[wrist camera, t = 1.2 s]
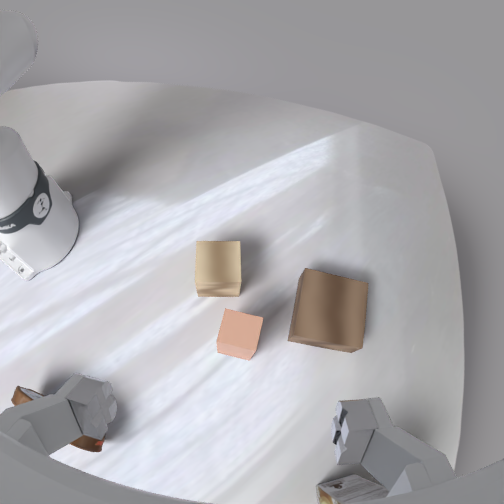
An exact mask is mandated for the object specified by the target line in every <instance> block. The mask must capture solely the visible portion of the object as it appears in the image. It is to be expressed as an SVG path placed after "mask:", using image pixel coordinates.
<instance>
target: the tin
mask: <svg viewBox="0 0 504 504" xmlns="http://www.w3.org/2000/svg"><path fill="white" fill-rule="evenodd" d="M41 397H44V396H43V395H41V394H39V393H38V392H35V391H33V390H31V389H26V388H23V387H20V386H17V387H16V390H15V392H14V395H13V398H12V399H11V401H12V403H13V404H14V405H15V406H17V405H20V404H23V403H26V402H29V401H32V400H35V399H38V398H41ZM82 435H83V434H82ZM104 438H105V435H104V436H103V438H102V440H100V439H96V438H93V437H89V436H86V435H83V436H81V437H79V438H78V439H76V440H74V441H73V442H71V443H69V444H71V445H73V446H75V447H78V448H80V449H83V450H87V451H91V452H100V451H101V450H102V445H103V442H104Z"/></svg>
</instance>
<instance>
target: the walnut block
mask: <svg viewBox="0 0 504 504" xmlns="http://www.w3.org/2000/svg"><path fill="white" fill-rule="evenodd" d="M367 294H368V283H366V282H362V281H357V280H353V279H349V278H345V277H341V276H337V275H332V274H328V273H324V272H320V271H316V270H312V269H308V268H305V270H304V271H303V273H302V275H301V276H300V278H299V282H298V288H297V293H296V299H295V305H294V310H293V316H292V321H291V326H290V331H289V337H288V341H291V342H296V343H301V344H306V345H311V346H316V347H321V348H327V349H332V350H338V351H343V352H349V353H352V352H354V351H357V350H359V349H362V347H363V338H364V329H365V319H366V307H367Z"/></svg>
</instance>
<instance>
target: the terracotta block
mask: <svg viewBox="0 0 504 504" xmlns="http://www.w3.org/2000/svg"><path fill="white" fill-rule="evenodd" d="M262 322H263V317H258V316H254V315H250V314H246V313H242V312H238V311H234V310H230V309H226V308H225V311H224V315H223V319H222V323H221V326H220V330H219V334H218V338H217V351H218V353H221V354H225V355H229V356H233V357H237V358H241V359H246V360H250V359H251V357H252V356H253V354H254V353H255V352H256V349H257V345H258V340H259V336H260V331H261V327H262Z"/></svg>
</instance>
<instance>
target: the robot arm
mask: <svg viewBox="0 0 504 504" xmlns="http://www.w3.org/2000/svg"><path fill="white" fill-rule="evenodd" d="M37 49H38V35H37V31H36V28H35V26H34V24H33V22H32V21H31V20H30V19H29V18H28V17H27V16H26V15H24V14H22V13H20V12H17V11H9V10H0V96H1V95H2V94H4V93H5V92H6V91H7V90H9V89H10V87H11V86H12V85H13V84H14V83H15V82H16V81H17V80H18V79H19V78H20V77H21V76H22V75H23V74H24V73H25V72H26V71H27V70H28V69H29V68H30V67H31V66H32V65H33V63H34V61H35V57H36V54H37ZM78 229H79V220H78V216H77V213H76V211H75V210H74V208H73V206H72V195H71V194H70V193H69V192H68V191H62V190H61V188H60V187H59V186H58V184H57V183H56V182H55V180H54V179H53V178H52V177H51V176H50V175H48V176H46V175H45V172H44V171H43V169H42V168H41V167H40V166H39V164H38V163H37V162H36V161H34V160H33V159H32V157H31V155H30V153H29V152H28V150H27V148H26V146H25V144H24V142H23V141H22V139H21V137H20V135H19V134H18V133H17V132H16V131H15V130H14V129H12V128H10V127H6V126H0V260H2V261H3V262H4V263H5V264H6V265H7V266H8V267H9V268H10V269H11V270H13V271H14V272H15V273H16V274H17V275H18V276H19V277H21V278H22V279H23V280H24V281H29V280H30V279H32V278H33V277H34V276H35V275H36V274H37V273H39V272H41V271H43V270H46V269H49V268H51V267H53V266H54V265H56V264H57V263H59V262H60V261H61V260H62V259H63V258H64V257H65V256H66V255H67V254H68V252H69V251H70V250H71V248H72V246H73V244H74V242H75V240H76V237H77V234H78ZM23 270H24V271H23ZM22 271H23V272H22ZM112 391H113V389H112V386H111V383H110V382H108V381H105V380H101V379H97V378H93V377H90V376H85V375H82V374H78V373H75V374H73V375H72V376H71V377H70V378H69V379H68V380H67V382H66V383H65V384H64V385H63V386H62V387H61V388H60V389H59V390H58V391H57V392H56V393H55V395H53V394H50V395H47V396H44V397H41V398H38V399H35V400H32V401H29V402H26V403H23V404H20V405H17V406H14V407H11V408H7V409H5V410H4V411H3V412H2V413H1V415H0V504H212V503H204V502H197V501H191V500H185V499H179V498H174V497H169V496H164V495H160V494H155V493H151V492H147V491H143V490H139V489H135V488H132V487H128V486H125V485H121V484H118V483H115V482H111V481H108V480H105V479H102V478H99V477H97V476H94V475H91V474H88V473H86V472H83V471H80V470H78V469H75V468H73V467H70V466H68V465H66V464H63V463H61V462H59V461H56V460H54V459H52V458H50V456H49V455H50V454H52V453H54V452H55V451H57V450H59V449H61V448H62V447H64V446H66V445H67V444H69V443H71V442H73V441H74V440H76V439H78V438H79V437H81V436H83V435H86V436H89V437H93V438H96V439H100V440H102V438H103V436H104V435H105V433H106V432H107V430H108V426H107V424H108V423H110V422H112V421H113V420H114V418H115V416H116V412H117V403H116V399H115V398H114V397H113V396H112V395H111V392H112ZM336 413H337V415H336V416H335V417H334V418H333V422H332V430H331V434H332V441H333V443H334V444H335V445H336V448H335V451H334V452H335V457H336V462H337V465H345V464H357V463H361V465H362V466H363V467H364V468H365V469H366V470H367V471H368V472H369V473H370V474H371V475H372V476H374V477H375V478H376V479H377V480H378V481H379V482H380V483H381V484H382V485H383V486H384V487H385V488H386V489H387V490H389V491H390V492H389V494H388V495H387V496H386V497H385V498H380V499H374V500H368V501H362V502H355V503H347V504H504V459H502V460H500V461H497V462H496V463H493V464H491V465H489V466H486V467H484V468H481V469H479V470H477V471H474V472H472V473H469V474H466V475H464V476H461V477H458V478H457V477H456V475H455V473H454V471H453V469H452V467H451V465H450V463H449V461H448V459H447V457H446V455H445V454H443V453H442V452H440V451H438V450H436V449H435V448H433V447H431V446H429V445H428V444H426V443H424V442H423V441H421V440H419V439H418V438H416V437H414V436H413V435H411V434H409V433H408V432H406V431H404V430H403V429H401V428H400V427H398V426H396V427H394V426H393V424H392V422H391V419H390V417H389V415H388V413H387V410H386V408H385V406H384V404H383V402H382V400H381V398H379V397H377V398H368V399H359V400H345V401H338V403H337V406H336ZM82 434H83V435H82Z"/></svg>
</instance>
